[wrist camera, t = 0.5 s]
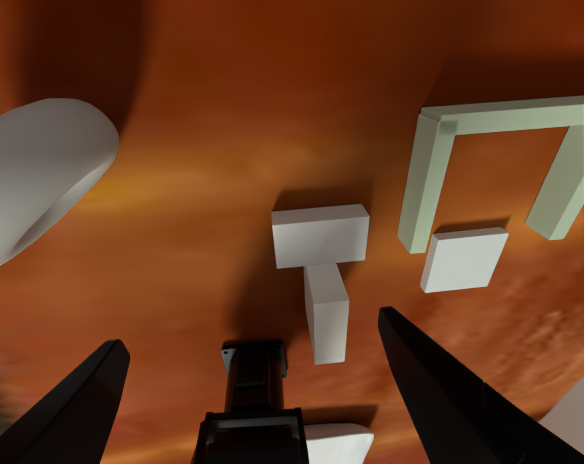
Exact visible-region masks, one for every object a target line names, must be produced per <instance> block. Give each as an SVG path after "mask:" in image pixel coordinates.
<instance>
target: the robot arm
mask: <svg viewBox="0 0 584 464" xmlns="http://www.w3.org/2000/svg"><path fill="white" fill-rule="evenodd" d="M378 329H379V333H380V336H381V339H382V342H383V346H384V349H385V352H386V356H387V359H388V362H389V365H390V368H391V372H392V374H393V377H394V379H395V381H396V384H397V386H398V388H399V391H400V393H401V396H402V398H403V400H404V403H405V405H406V407H407V410H408V412H409V414H410V417H411V419H412V421H413V424H414V426H415V428H416V431H417V433H418V435H419V438H420V440H421V442H422V445H423V447H424V449H425V452H426V454H427V457H428V459H429V461H430V464H584V455H583V454H582V453H580V452H579V451H577V450H576V449H574V448H573V447H572V446H570V445H569V444H567V443H566V442H565V441H563V440H562V439H560V438H559V437H558V436H556V435H555V434H553V433H552V432H550V431H549V430H548V429H546V428H545V427H543V426H542V425H541V424H539V423H538V422H536V421H535V420H534V419H532V418H531V417H529V416H528V415H527V414H525V413H524V412H523V411H521V410H520V409H519V408H517V407H516V406H515V405H513V404H512V403H511V402H509V401H508V400H507V399H506V398H504V397H503V396H502V395H501V394H499V393H498V392H497V391H496V390H494V389H493V388H492V387H491V386H489V385H488V384H487V383H485V382H484V383H483V380H482V379H481V378H479V377H478V376H477V375H476V374H475V373H473V372H472V371H471V370H470V369H468V368H467V367H466V366H465V365H464V364H462V363H461V362H460V361H459V360H457V359H456V358H455V357H454V356H452V355H451V354H450V353H449V352H448V351H446V350H445V349H444V348H443V347H441V346H440V345H439V344H438V343H437V342H435V341H434V340H433V339H432V338H430V337H429V336H428V335H427V334H425V333H424V332H423V331H422V330H421V329H419V328H418V327H417V326H416V325H414V324H413V323H412V322H411V321H410V320H408V319H407V318H406V317H405V316H403V315H402V314H401V313H400V312H399V311H397V310H396V309H395V308H394V307H392V306H387V307H381V308H380V310H379V317H378ZM221 354H222V358H223V361H224V364H225V367H226V370H227V373H228V381H227V390H226V399H225V409H224V413H213V412H207V413H206V417H205V421H203V422H201V423H200V429H199V435H198V441H197V445H196V448H195V451H194V454H193V457H192V461H191V464H309V455H308V448H307V442H306V436H305V430H304V424H303V418H302V412H301V407H298V408H295V409H284V396H283V379H282V378H285V377H286V376H287V373H286V364H285V355H284V346H283V342H282V341H279V340H278V341H269V342H260V343H250V344H241V345H232V346H224V347H222V349H221ZM129 362H130V354H129V352H128V350H127V349H126V347H125V345H124V344H123V342H122V341H121V340H120V339H115V340H108V341H106V342H105V343H103V344H102V345H101V346H100V347H99V348H98V349H97V350H96V351H94V352H93V353H92V354H91V355H90V356H89V357H88V358H87V359H86V360H84V361H83V362H82V363H81V364H80V365H79V366H78V367H77V368H75V369H74V370H73V371H72V372H71V373H70V374H69V375H68V376H67V377H65V378H64V379H63V380H62V381H61V382H60V383H59V384H58V385H56V386H55V387H54V388H53V389H52V390H51V391H50V392H49V393H48V394H46V395H45V396H44V397H43V398H42V399H41V400H40V401H39V402H37V403H36V404H35V405H34V406H33V407H32V408H31V409H30V410H29V411H27V412H26V413H25V414H24V415H23V416H22V417H21V418H20V419H18V420H17V421H16V422H15V423H14V424H13V425H12V426H11V427H10V428H8V429H7V430H6V431H5V432H4V433H3V434H2V435H1V436H0V464H100V461H101V458H102V455H103V452H104V449H105V446H106V443H107V440H108V437H109V435H110V432H111V429H112V426H113V423H114V420H115V417H116V414H117V411H118V408H119V404H120V400H121V396H122V392H123V388H124V384H125V379H126V375H127V371H128V367H129Z"/></svg>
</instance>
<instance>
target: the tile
mask: <svg viewBox="0 0 584 464" xmlns="http://www.w3.org/2000/svg"><path fill="white" fill-rule="evenodd" d="M508 235H509V233H508V232H507V231H506V230H504V229H503V228H502V227H494V228H484V229H475V230H466V231H456V232H447V233H437V234H433V235H432V239H431V243H430V247H429V251H428V255H427V259H426V263H425V267H424V271H423V275H422V279H421V283H420V286H421V288H422V289H423V291H424V292H425V293H428V292H438V291H447V290H456V289H466V288H475V287H484V286H487V285H488V283H489V281H490V278H491V276H492V273H493V271H494V269H495V266H496V264H497V261H498V259H499V256H500V254H501V252H502V249H503V247H504V244H505V242H506V239H507V237H508Z"/></svg>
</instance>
